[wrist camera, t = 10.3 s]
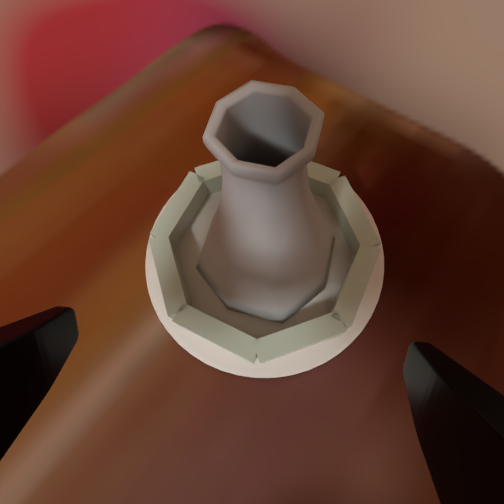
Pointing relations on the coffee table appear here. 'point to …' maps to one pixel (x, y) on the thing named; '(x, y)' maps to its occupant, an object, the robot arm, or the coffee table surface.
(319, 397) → the coffee table surface
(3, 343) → the robot arm
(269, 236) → the flask
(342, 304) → the shaker seat
